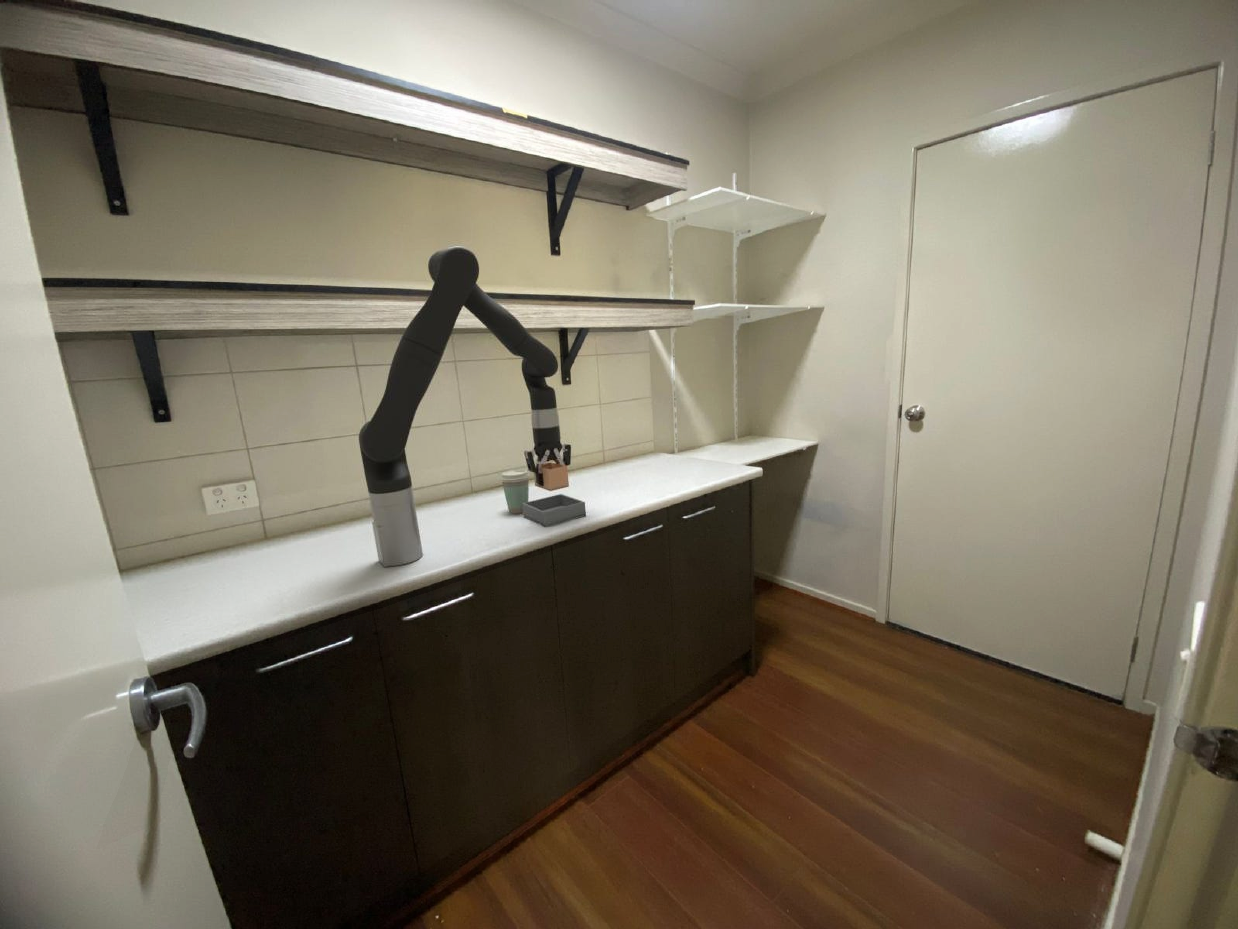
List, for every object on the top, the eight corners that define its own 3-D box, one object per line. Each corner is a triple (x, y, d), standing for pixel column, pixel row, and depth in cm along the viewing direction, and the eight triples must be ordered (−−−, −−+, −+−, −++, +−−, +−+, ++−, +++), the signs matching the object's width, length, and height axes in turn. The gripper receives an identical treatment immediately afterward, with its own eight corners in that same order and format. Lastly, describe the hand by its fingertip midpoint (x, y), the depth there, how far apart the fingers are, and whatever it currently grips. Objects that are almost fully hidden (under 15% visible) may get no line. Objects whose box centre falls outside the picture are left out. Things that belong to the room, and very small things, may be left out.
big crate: (545, 526, 132) (543, 512, 131) (523, 516, 143) (521, 503, 142) (585, 515, 140) (584, 502, 139) (562, 506, 150) (561, 493, 149)
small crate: (550, 491, 134) (548, 469, 133) (535, 485, 141) (532, 465, 140) (568, 486, 137) (567, 465, 136) (553, 481, 145) (551, 461, 143)
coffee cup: (535, 512, 146) (531, 473, 144) (506, 517, 143) (502, 477, 141) (529, 505, 154) (525, 467, 151) (502, 509, 151) (497, 471, 148)
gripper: (528, 429, 129) (535, 491, 132) (574, 422, 137) (579, 480, 140) (516, 427, 134) (522, 486, 138) (561, 420, 143) (566, 476, 146)
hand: (551, 483), depth 139 cm, fingers closed on small crate, 6 cm apart
